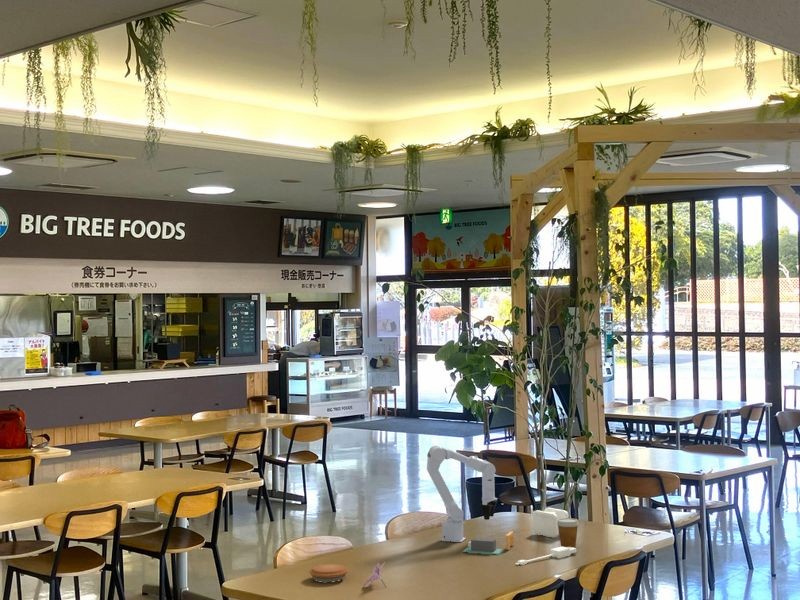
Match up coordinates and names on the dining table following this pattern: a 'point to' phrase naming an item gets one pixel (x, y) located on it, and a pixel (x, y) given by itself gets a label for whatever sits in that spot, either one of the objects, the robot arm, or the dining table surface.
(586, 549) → the dining table surface
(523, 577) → the dining table surface
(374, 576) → the lily
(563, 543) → the disposable coffee cup
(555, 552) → the charging cable
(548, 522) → the cable organizer
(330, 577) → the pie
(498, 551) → the mat
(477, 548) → the grey box
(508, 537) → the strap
